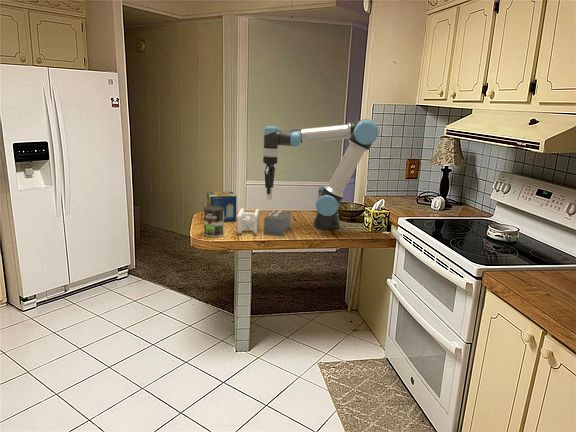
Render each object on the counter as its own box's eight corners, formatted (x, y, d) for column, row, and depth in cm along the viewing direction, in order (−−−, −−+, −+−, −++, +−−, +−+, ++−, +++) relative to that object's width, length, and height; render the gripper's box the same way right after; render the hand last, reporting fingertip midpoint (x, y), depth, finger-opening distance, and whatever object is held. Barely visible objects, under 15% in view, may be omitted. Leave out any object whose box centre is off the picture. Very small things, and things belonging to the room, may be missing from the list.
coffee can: (218, 238, 223) (218, 211, 219) (200, 235, 226) (200, 208, 222) (227, 232, 233) (227, 206, 229) (209, 230, 235) (209, 204, 232)
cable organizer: (256, 236, 229) (257, 214, 226) (236, 235, 229) (236, 213, 226) (259, 228, 243) (259, 207, 240) (240, 227, 243) (240, 206, 240)
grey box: (290, 227, 248) (291, 210, 245) (282, 236, 231) (282, 218, 228) (273, 225, 250) (273, 208, 248) (263, 233, 233) (264, 216, 231)
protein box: (206, 218, 258) (206, 192, 254) (232, 216, 264) (232, 191, 260) (210, 223, 249) (209, 196, 245) (236, 221, 254) (237, 195, 250)
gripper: (267, 154, 240) (265, 196, 246) (259, 156, 228) (258, 201, 234) (280, 155, 239) (278, 197, 245) (273, 158, 226) (272, 202, 233)
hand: (268, 199), depth 239 cm, fingers closed
